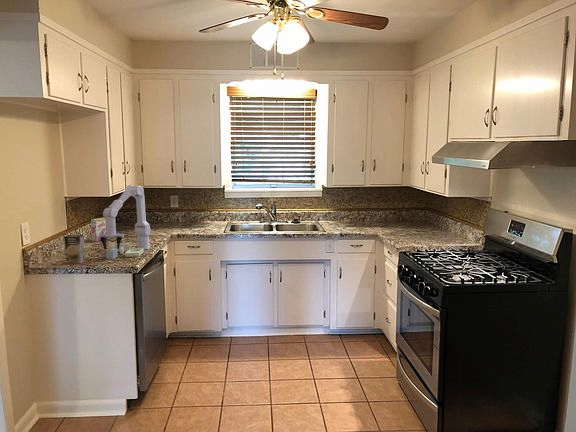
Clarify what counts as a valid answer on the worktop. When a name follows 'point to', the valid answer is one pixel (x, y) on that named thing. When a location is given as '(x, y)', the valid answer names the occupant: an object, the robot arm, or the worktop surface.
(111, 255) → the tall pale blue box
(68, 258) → the coffee box
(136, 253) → the tray
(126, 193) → the robot arm
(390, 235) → the worktop surface
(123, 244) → the stand
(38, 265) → the worktop surface
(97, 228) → the candy bar box
